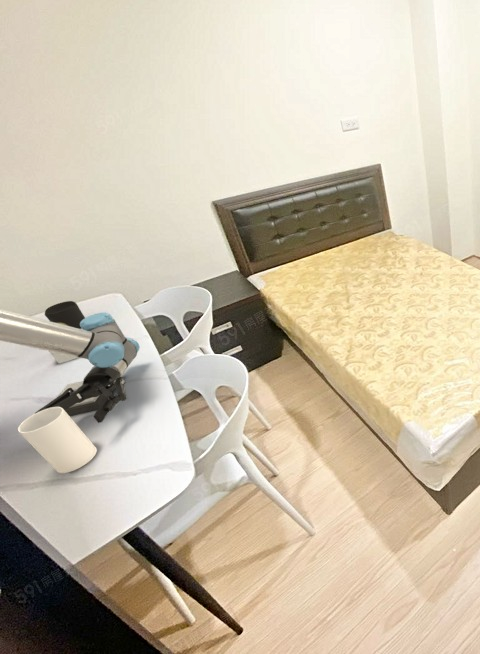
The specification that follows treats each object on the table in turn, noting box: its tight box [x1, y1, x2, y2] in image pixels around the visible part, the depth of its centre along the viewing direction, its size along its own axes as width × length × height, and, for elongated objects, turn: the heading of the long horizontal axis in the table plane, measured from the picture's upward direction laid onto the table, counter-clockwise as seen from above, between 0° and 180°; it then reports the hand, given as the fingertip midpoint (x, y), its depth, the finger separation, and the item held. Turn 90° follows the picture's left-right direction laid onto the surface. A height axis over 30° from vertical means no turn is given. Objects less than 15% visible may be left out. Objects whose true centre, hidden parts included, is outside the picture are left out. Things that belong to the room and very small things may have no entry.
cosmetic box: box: [48, 351, 80, 365], centre depth 143 cm, size 6×4×12 cm
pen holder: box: [44, 300, 86, 329], centre depth 160 cm, size 9×9×10 cm
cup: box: [17, 407, 98, 474], centre depth 104 cm, size 8×8×16 cm
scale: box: [57, 380, 116, 417], centre depth 126 cm, size 14×14×3 cm
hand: (66, 426), depth 106 cm, fingers open, 13 cm apart
